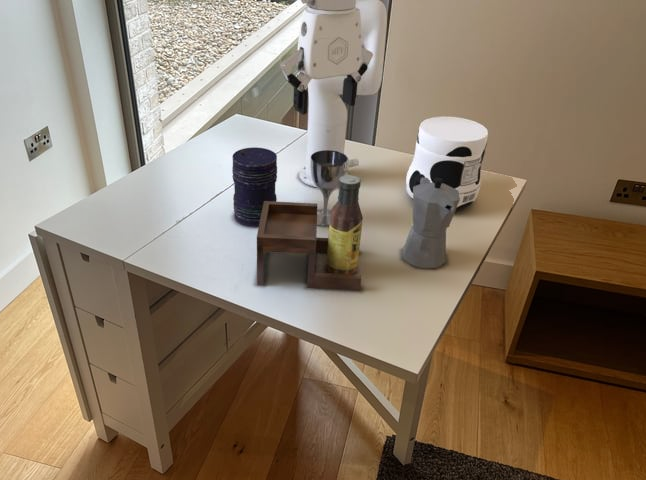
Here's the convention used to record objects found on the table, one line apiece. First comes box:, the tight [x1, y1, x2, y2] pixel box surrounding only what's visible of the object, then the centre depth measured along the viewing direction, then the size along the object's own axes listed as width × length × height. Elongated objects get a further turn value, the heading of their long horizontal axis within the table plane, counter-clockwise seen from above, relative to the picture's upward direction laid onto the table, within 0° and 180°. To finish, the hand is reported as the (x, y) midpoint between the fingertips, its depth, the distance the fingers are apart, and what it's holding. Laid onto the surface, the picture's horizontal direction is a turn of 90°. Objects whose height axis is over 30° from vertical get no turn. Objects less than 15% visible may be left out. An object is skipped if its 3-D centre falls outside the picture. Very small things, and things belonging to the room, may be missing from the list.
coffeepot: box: [402, 174, 460, 270], centre depth 118 cm, size 15×9×18 cm, turn 13°
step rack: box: [256, 201, 362, 292], centre depth 116 cm, size 20×14×11 cm
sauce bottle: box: [326, 174, 364, 274], centre depth 113 cm, size 6×6×20 cm
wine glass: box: [310, 150, 348, 227], centre depth 131 cm, size 8×8×15 cm
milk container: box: [405, 115, 489, 211], centre depth 138 cm, size 17×17×18 cm
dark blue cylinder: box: [231, 146, 278, 228], centre depth 131 cm, size 10×10×15 cm
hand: (324, 107), depth 102 cm, fingers open, 9 cm apart
